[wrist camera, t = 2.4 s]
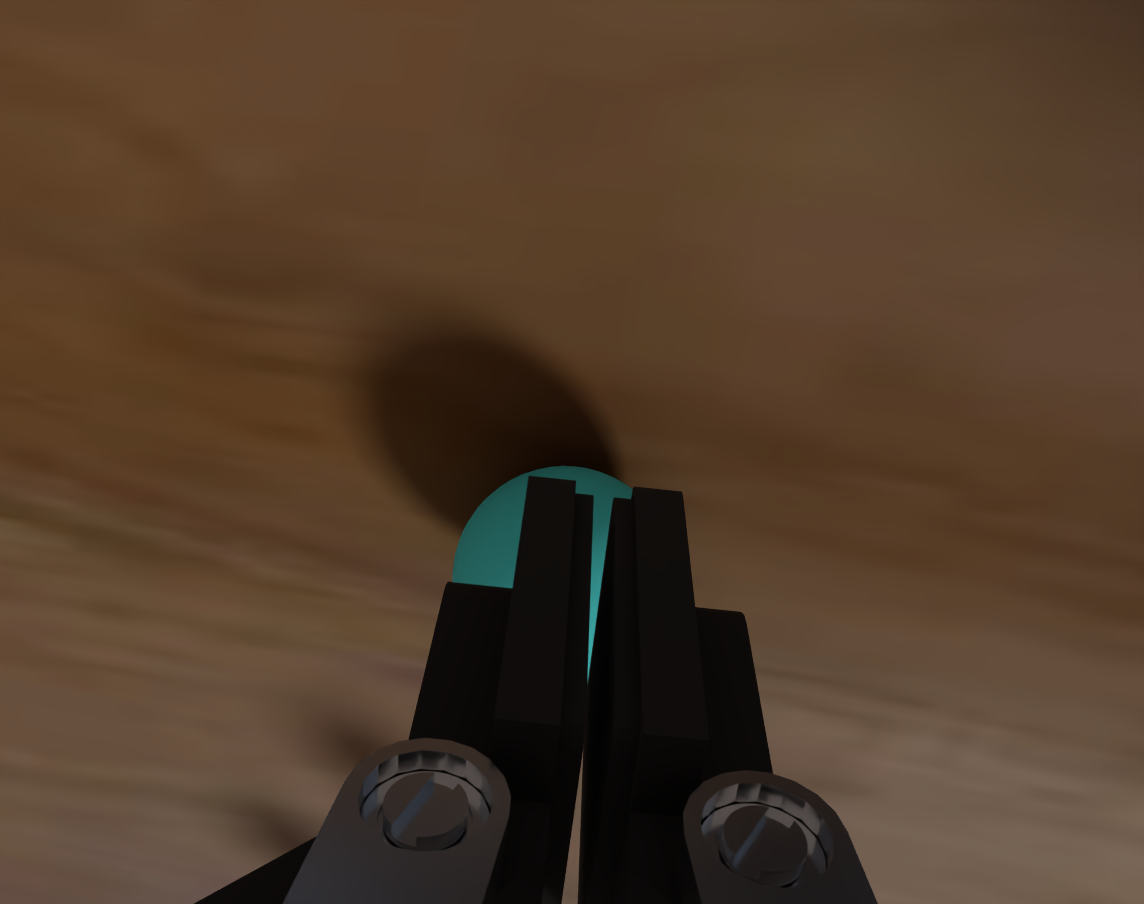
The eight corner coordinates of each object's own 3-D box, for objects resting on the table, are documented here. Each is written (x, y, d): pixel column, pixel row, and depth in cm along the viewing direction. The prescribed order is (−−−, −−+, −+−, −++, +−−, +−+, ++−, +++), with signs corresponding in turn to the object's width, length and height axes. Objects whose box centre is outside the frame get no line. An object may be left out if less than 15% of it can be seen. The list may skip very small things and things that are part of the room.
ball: (584, 388, 30) (577, 498, 25) (712, 534, 32) (731, 665, 27) (424, 503, 32) (386, 628, 26) (555, 634, 34) (544, 775, 29)
